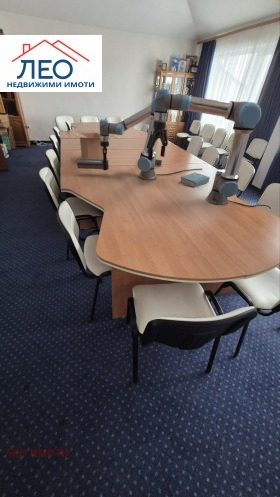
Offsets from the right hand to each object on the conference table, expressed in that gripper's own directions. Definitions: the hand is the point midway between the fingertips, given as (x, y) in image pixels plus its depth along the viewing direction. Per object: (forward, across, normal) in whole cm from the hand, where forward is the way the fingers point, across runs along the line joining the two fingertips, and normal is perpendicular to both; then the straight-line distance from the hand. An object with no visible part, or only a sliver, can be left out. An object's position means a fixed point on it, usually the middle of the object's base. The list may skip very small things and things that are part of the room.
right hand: (156, 158), depth 144 cm
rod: (+25, +6, +71) cm, 75 cm away
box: (+31, +37, +106) cm, 116 cm away
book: (+31, +63, -2) cm, 70 cm away
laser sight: (+31, +76, +58) cm, 101 cm away
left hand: (+24, +14, +63) cm, 69 cm away
